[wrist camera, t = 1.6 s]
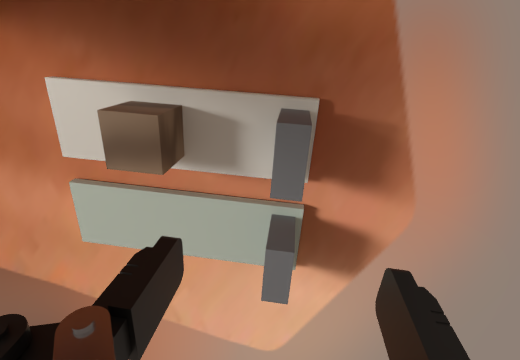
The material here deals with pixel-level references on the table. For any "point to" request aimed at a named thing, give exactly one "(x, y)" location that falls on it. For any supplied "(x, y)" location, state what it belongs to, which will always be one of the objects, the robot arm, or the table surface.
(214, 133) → the cream strip
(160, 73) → the table surface
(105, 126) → the walnut block
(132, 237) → the sage strip
